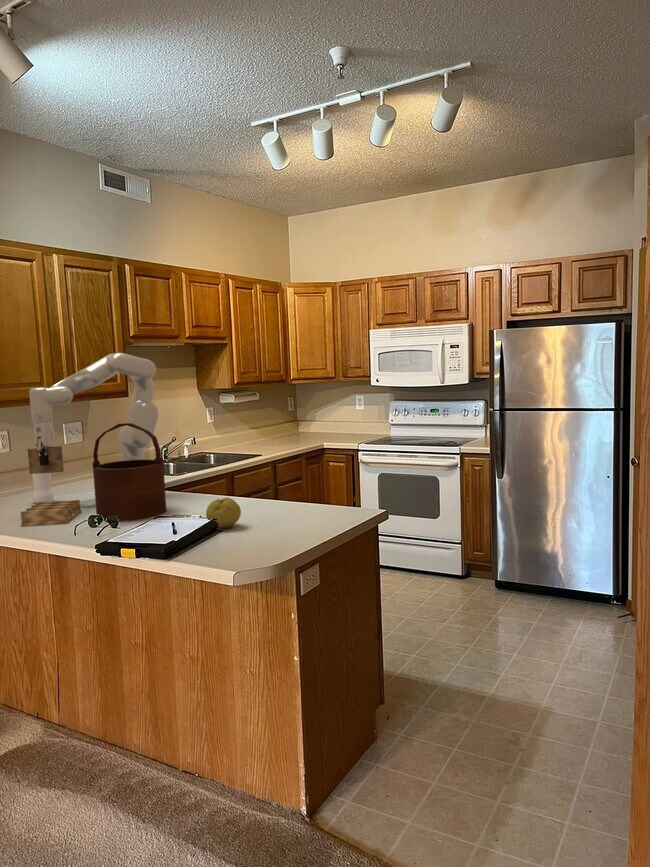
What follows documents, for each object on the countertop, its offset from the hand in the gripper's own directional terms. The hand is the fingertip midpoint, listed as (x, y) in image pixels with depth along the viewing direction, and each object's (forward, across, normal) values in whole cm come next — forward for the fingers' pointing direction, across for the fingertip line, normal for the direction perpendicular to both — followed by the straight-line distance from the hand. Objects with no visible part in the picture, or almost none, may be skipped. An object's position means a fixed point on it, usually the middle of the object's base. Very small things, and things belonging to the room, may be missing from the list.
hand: (46, 464), depth 244 cm
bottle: (+19, +20, +10) cm, 30 cm away
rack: (+19, -15, -6) cm, 25 cm away
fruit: (+19, -44, -72) cm, 87 cm away
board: (+3, 0, 0) cm, 3 cm away
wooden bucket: (+19, -13, -35) cm, 42 cm away
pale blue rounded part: (+20, +9, -14) cm, 25 cm away
